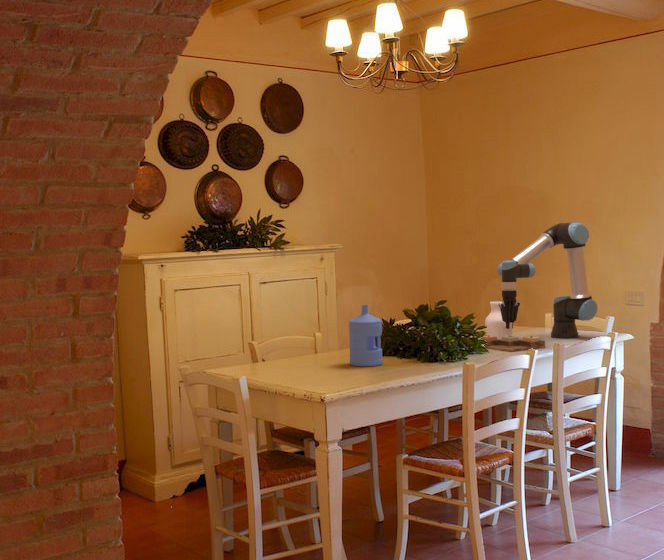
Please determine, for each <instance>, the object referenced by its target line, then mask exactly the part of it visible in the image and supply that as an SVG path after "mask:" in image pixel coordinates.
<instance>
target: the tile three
mask: <svg viewBox="0 0 664 560" xmlns="http://www.w3.org/2000/svg"><path fill="white" fill-rule="evenodd" d="M522 340H523V341H526V342H537V341H540V340H541V337H539V336H533V335H531V336H523V338H522Z"/></svg>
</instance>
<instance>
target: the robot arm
mask: <svg viewBox="0 0 664 560" xmlns="http://www.w3.org/2000/svg"><path fill="white" fill-rule="evenodd" d="M589 237H590V233H589V229H588V227H587V226H586V225H585V224H583V223H582V222H581V223H580V222H577V221H576V222H559V223H557V224H554V225H552V226H551V227H548V228H547V229H546V230H544V231H543V232H542V233H541V234H540V235H539V238H537V239H536V240H534V241H533V242H532V243H530V244H529V245H528V246H526V247H525V248H524V249H523V250H521V251H520V252H518V254H516V255H514V256H513V257H512V258H511V259H510V260H509V259H508V260H507V259H506V260H503V261H502V262H501V263H499V264H498V266H497V268H496V269H497V273H498V275H499V276H500V277H501V297H502V303H501V304H499V307H500V310H501V315H502V320H503V321H504V322H506V329H507V335H510V336H513V329H514V323H515V322H516V321H517V318H518V313H519V307H520V306H521V305H520V304H521V303H520V302H518V301H517V299H516V298H517V280H518V279H524V278H525V279H529V278H533V277H534V276H535V275H536V266H535V265H534V264H533V263H531V262H532V261H533V260H535V259H536V258H538V257H539V256H540V255H541V254H542V253H544V252H546V251H547V250H548V249H553V247H555V246H558V245H563V250H565V252H566V255H567V262H568V271H569V278H570V288H571V295H563V296H555V297H554V298H553V303H552V304H553V307H552V308H553V325H552V328H551V331H550V337H552V338H556V339H574V338H579V331H578V328H577V325H576V320H577V321H582V322H583V321H591V320H593V319H594V318H595V316H597V313H598V304H597V301H595V300H594V299H593V297H592V294H591V293H590V292H589V289H588V280H587V273H586V272H587V271H586V270H587V269H586V262H585V255H584V249H585V248H586V243H587V242H588V241H589Z"/></svg>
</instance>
